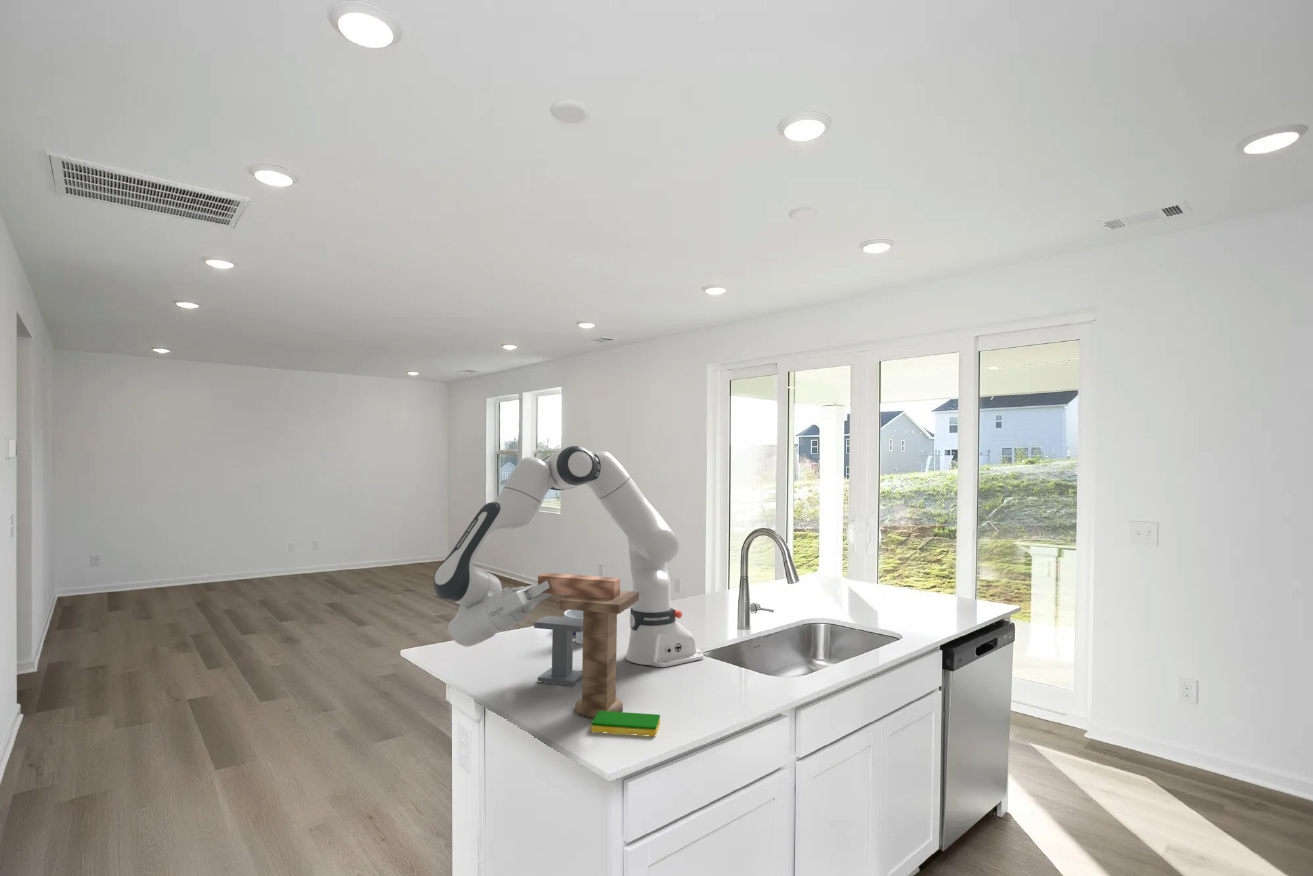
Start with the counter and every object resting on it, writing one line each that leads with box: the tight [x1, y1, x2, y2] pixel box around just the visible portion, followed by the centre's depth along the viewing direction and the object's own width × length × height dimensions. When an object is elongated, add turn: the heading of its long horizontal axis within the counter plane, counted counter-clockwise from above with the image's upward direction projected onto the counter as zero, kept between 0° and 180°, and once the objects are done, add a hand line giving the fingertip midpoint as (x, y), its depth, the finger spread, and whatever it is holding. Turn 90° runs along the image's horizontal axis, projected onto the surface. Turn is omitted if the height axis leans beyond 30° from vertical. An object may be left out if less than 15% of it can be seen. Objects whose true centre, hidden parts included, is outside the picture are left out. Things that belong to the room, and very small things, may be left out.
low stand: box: [533, 615, 583, 687], centre depth 175 cm, size 13×8×15 cm, turn 73°
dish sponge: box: [590, 711, 661, 737], centre depth 145 cm, size 7×14×2 cm, turn 83°
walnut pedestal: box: [559, 590, 639, 720], centre depth 155 cm, size 14×14×26 cm
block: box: [537, 572, 621, 599], centre depth 157 cm, size 19×4×4 cm, turn 74°
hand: (554, 581), depth 158 cm, fingers closed on block, 4 cm apart
